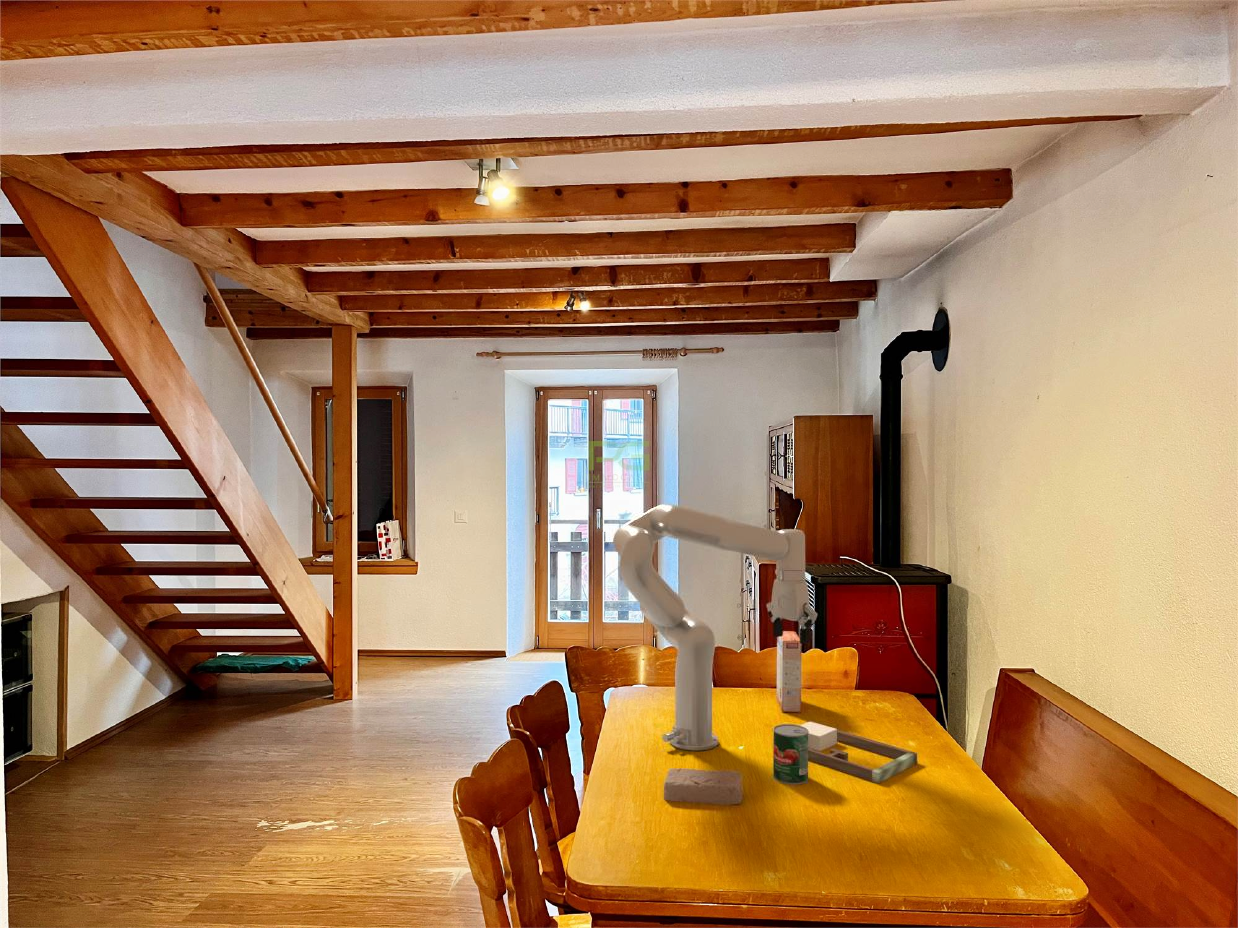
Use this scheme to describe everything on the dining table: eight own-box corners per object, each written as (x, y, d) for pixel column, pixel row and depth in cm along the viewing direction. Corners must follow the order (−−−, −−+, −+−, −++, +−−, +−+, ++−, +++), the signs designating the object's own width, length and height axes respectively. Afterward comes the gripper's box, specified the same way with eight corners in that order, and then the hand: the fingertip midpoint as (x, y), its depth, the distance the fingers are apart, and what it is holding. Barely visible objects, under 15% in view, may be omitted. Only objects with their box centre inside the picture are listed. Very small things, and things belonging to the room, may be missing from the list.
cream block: (819, 752, 190) (819, 736, 190) (792, 743, 196) (792, 728, 196) (836, 744, 196) (836, 728, 196) (810, 736, 202) (809, 721, 202)
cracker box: (802, 713, 220) (802, 640, 220) (781, 712, 220) (781, 640, 221) (796, 698, 234) (796, 630, 234) (776, 698, 234) (776, 630, 235)
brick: (663, 802, 162) (663, 779, 162) (666, 785, 170) (667, 764, 170) (742, 808, 159) (742, 785, 159) (742, 791, 167) (742, 769, 168)
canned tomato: (770, 781, 172) (770, 733, 172) (775, 768, 179) (775, 722, 179) (806, 787, 169) (806, 737, 169) (810, 773, 176) (810, 726, 176)
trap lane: (878, 783, 171) (878, 772, 171) (776, 749, 192) (775, 739, 192) (917, 762, 183) (917, 752, 183) (816, 732, 204) (816, 723, 204)
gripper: (757, 573, 209) (758, 635, 208) (805, 580, 194) (805, 648, 194) (777, 571, 213) (777, 632, 213) (825, 578, 198) (826, 644, 198)
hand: (791, 639), depth 203 cm, fingers open, 9 cm apart
